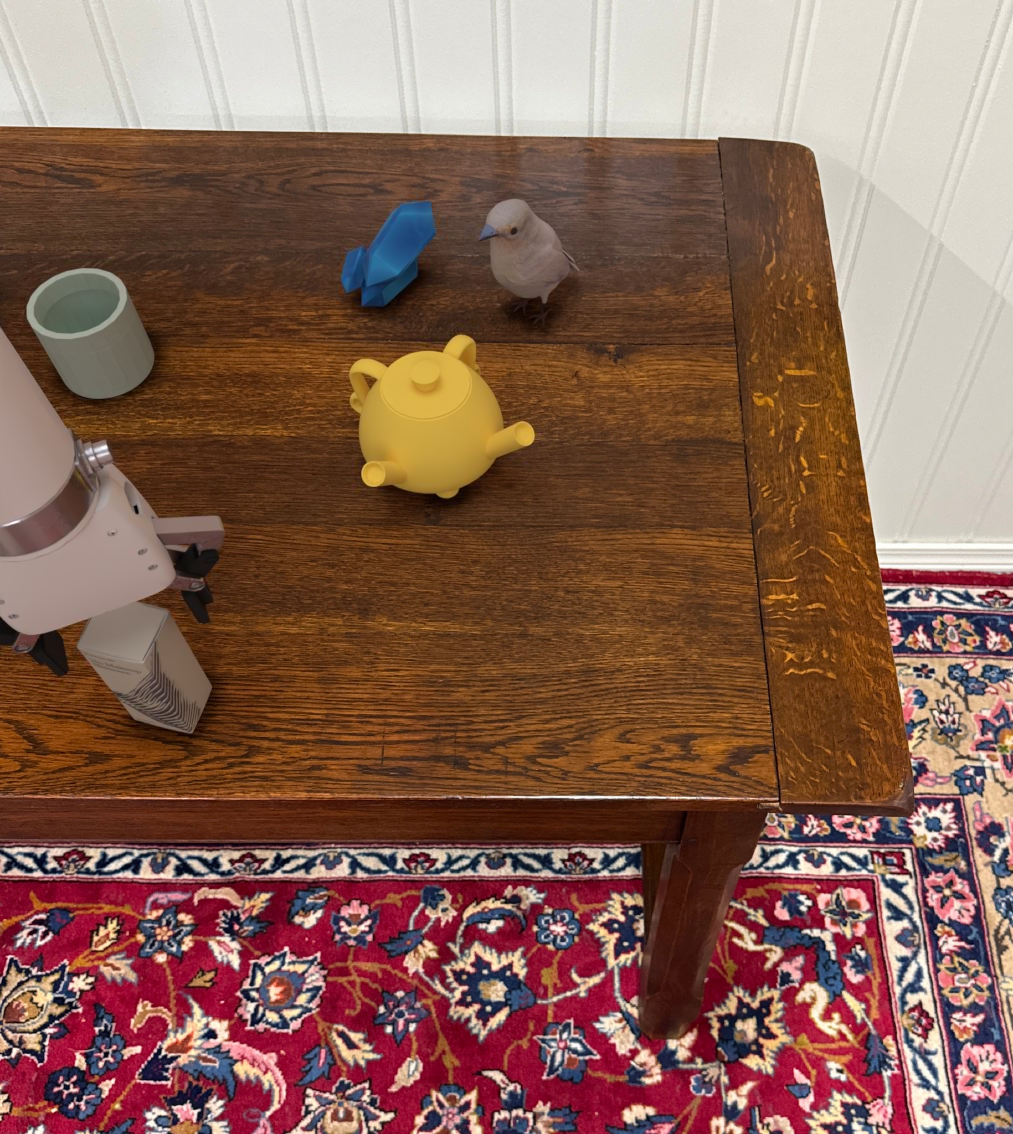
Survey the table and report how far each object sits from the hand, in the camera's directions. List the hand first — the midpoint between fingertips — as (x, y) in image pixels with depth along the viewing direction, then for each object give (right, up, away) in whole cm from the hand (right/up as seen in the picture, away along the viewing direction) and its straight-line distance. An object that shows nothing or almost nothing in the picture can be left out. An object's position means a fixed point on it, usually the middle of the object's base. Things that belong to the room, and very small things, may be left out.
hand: (131, 631), depth 67 cm
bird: (+28, +29, +31) cm, 51 cm away
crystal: (+14, +33, +33) cm, 49 cm away
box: (0, -6, +10) cm, 12 cm away
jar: (-13, +24, +28) cm, 39 cm away
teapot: (+19, +13, +22) cm, 32 cm away
